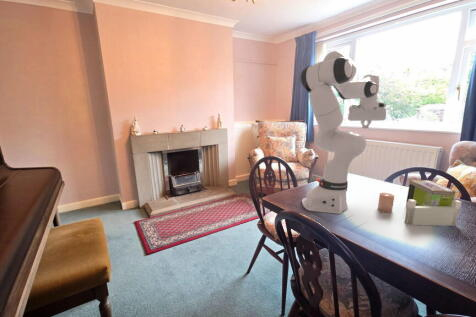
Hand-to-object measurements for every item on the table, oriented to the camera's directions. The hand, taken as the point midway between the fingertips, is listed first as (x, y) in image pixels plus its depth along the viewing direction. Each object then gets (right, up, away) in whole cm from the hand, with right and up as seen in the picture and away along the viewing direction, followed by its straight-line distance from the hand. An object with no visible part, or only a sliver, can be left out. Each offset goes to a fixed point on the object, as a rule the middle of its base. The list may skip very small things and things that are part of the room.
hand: (365, 128), depth 135 cm
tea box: (+14, -45, -27) cm, 54 cm away
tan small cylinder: (-3, -44, -22) cm, 49 cm away
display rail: (+8, -47, -36) cm, 59 cm away
